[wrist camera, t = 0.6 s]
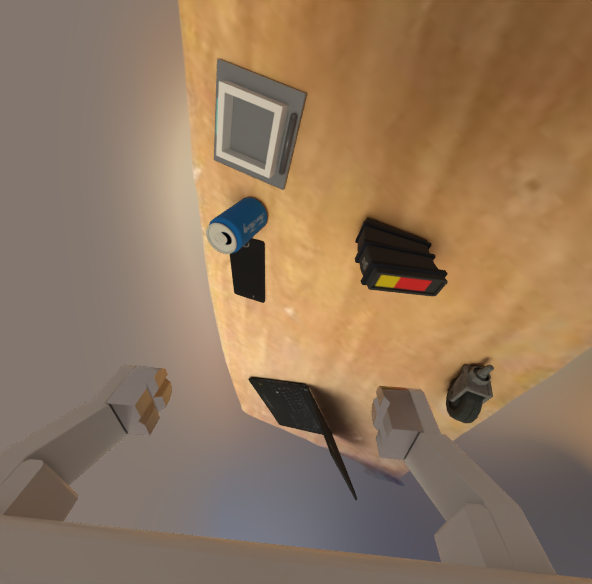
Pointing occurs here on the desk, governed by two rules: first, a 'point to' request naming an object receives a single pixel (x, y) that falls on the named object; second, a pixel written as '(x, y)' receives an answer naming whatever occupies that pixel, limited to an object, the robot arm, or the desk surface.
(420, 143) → the desk surface
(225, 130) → the charging dock
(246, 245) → the cell phone
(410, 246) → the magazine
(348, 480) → the laptop
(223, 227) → the beverage can
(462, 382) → the caster wheel
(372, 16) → the desk surface
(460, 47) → the desk surface
